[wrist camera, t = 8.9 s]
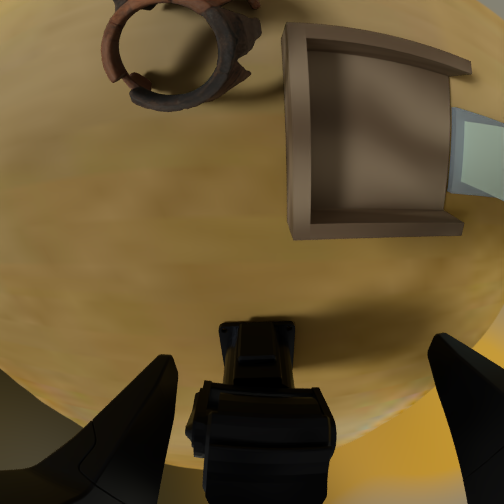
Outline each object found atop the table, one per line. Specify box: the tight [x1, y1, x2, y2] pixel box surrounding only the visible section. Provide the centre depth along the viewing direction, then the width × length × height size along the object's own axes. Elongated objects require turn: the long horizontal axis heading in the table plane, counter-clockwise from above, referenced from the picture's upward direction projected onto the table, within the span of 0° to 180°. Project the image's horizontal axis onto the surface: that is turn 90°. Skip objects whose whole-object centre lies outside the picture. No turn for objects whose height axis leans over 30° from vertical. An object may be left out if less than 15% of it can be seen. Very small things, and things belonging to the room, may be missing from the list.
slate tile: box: [447, 107, 504, 198], centre depth 17 cm, size 7×7×1 cm
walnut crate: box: [281, 22, 472, 240], centre depth 16 cm, size 13×13×3 cm
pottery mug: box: [101, 0, 262, 112], centre depth 12 cm, size 12×10×8 cm
